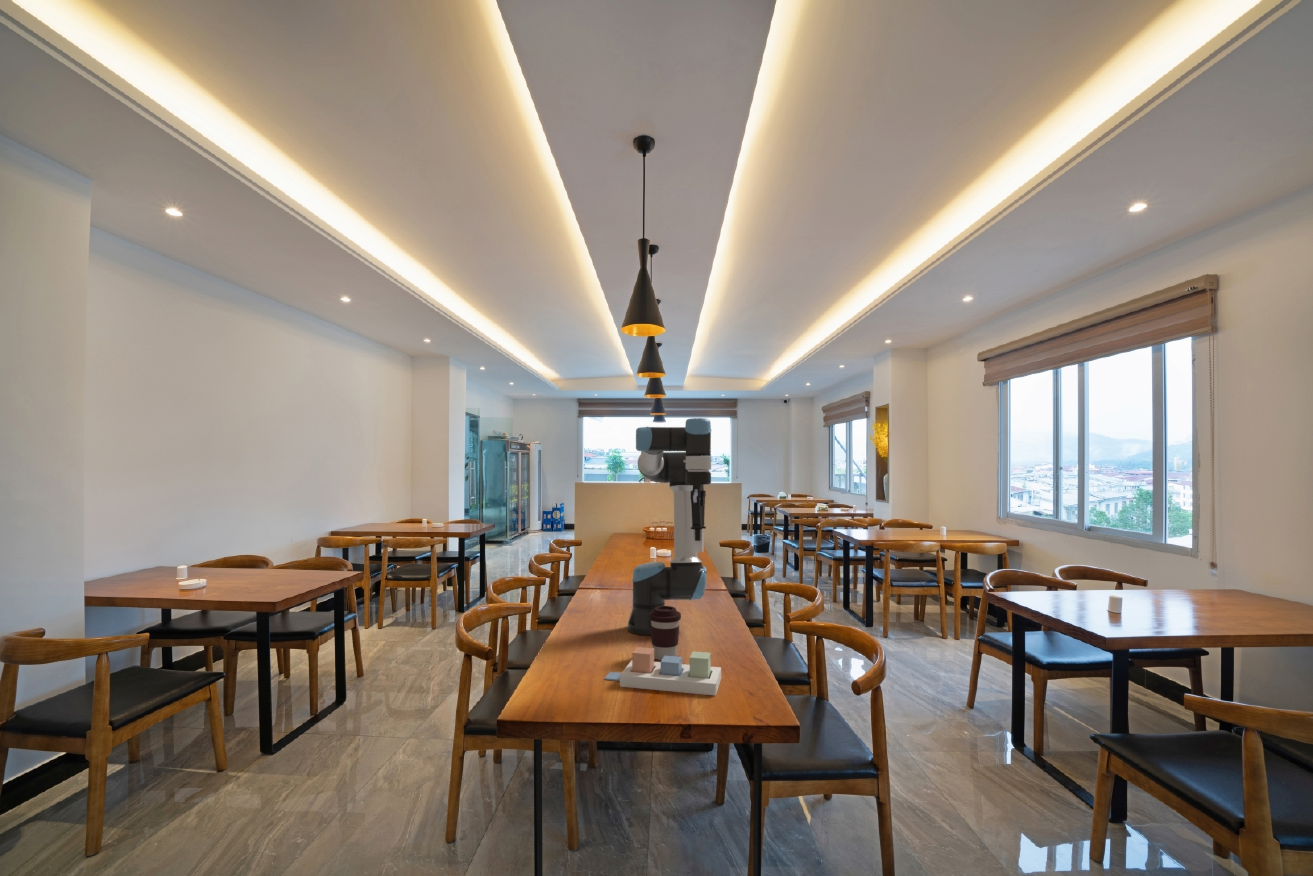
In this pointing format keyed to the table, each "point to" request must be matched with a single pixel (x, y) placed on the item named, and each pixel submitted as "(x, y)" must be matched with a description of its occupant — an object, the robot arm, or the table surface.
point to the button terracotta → (643, 660)
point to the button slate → (671, 665)
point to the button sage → (700, 665)
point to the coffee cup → (664, 631)
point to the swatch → (613, 676)
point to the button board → (671, 680)
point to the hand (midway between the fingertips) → (698, 551)
